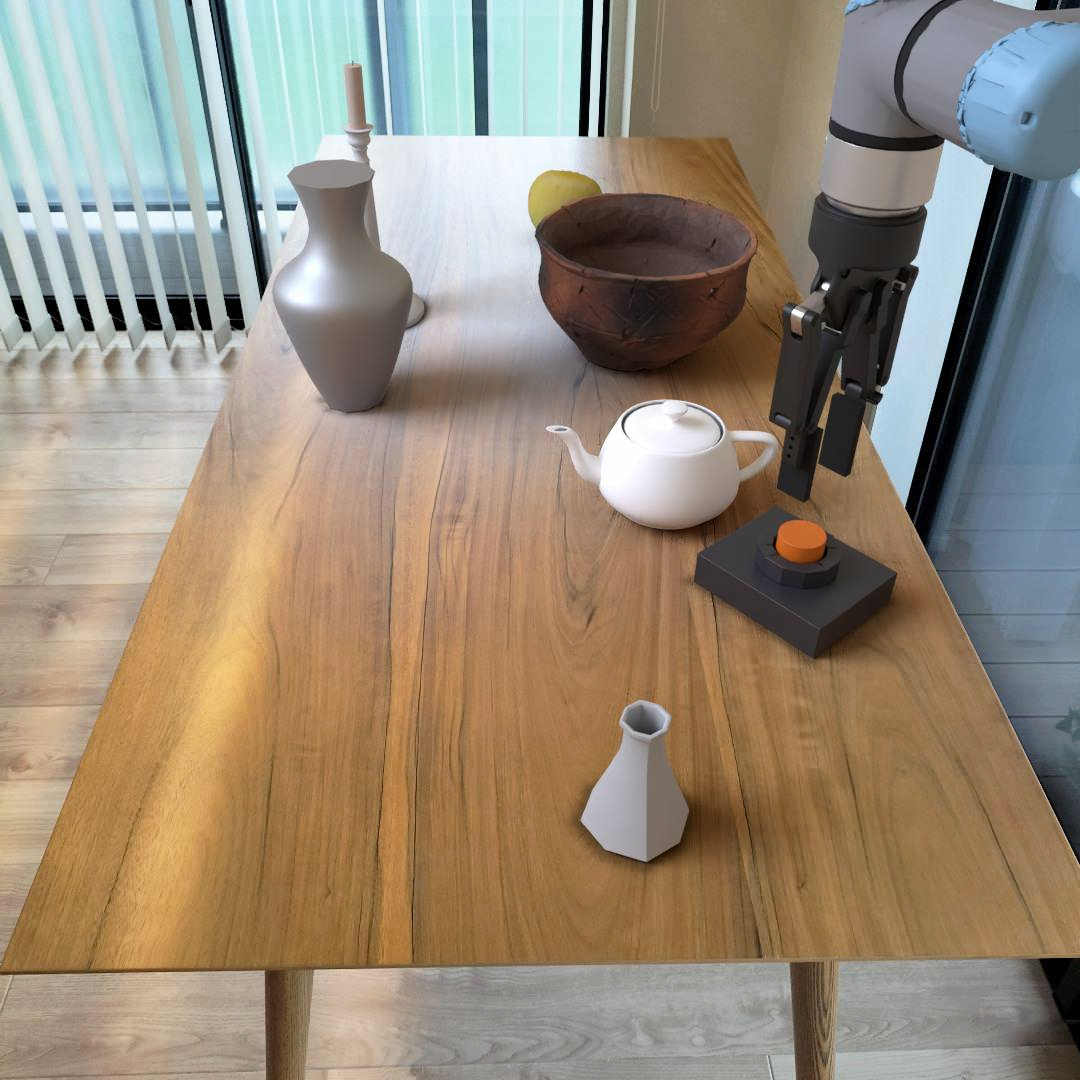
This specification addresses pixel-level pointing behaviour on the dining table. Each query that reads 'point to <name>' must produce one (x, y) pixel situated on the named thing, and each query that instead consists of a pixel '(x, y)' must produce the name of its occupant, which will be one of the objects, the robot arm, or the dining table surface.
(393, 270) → the vase
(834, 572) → the button box
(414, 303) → the candlestick
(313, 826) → the dining table surface
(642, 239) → the bowl
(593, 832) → the flask
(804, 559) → the power button
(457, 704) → the dining table surface
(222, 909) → the dining table surface
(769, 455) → the teapot
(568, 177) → the fruit
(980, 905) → the dining table surface
